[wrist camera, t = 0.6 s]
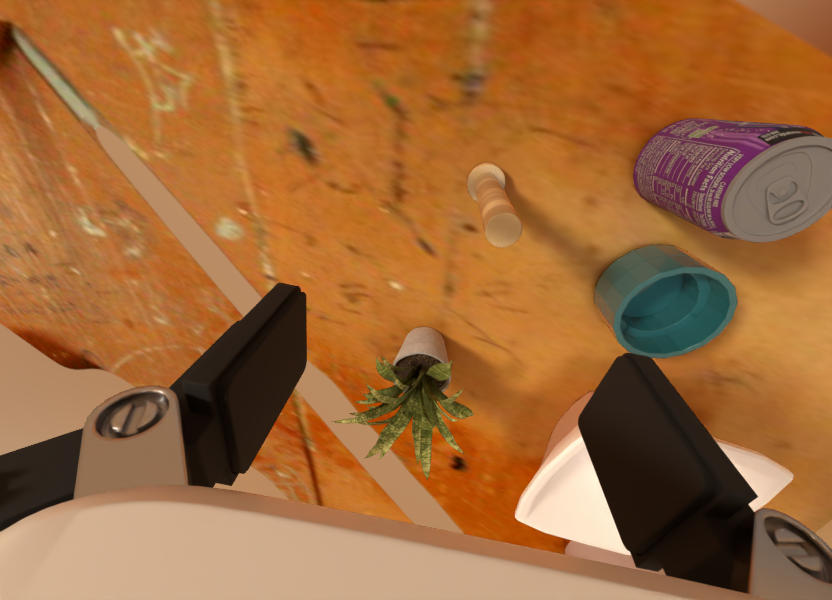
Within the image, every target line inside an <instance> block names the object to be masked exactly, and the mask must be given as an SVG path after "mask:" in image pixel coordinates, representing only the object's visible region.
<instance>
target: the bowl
mask: <svg viewBox="0 0 832 600" xmlns="http://www.w3.org/2000/svg"><path fill="white" fill-rule="evenodd" d="M594 392H595V391H590V392H588V393H587V394H586V395H584V396H583V397H582V398H580V399H579V400H578V401H576V402H575V403H574V404H573V405H572V406H571V407H570V408H569V409H568V410H567V411H566V413H565V414H564V415H563V416H562V417H561V419H560V420H559V422H558V423H557V425H556V426H555V428H554V430H553V432H552V435H551V437H550V440H549V443H548V446H547V449H546V452H545V455H544V458H543V461H542V464H541V467H540V469H539V470H538V472H537V473H536V474H535V476H534V477H533V479H532V480H531V482H530V483H529V484H528V486H527V487H526V489H525V490H524V492H523V493H522V495H521V498H520V500H519V503H518V506H517V508H516V511H515V518H516V519H517V520H518V521H520V522H522V523H524V524H527V525H529V526H531V527H533V528H535V529H538V530H540V531H542V532H544V533H548V534H551V535H555V536H558V537H562V538H565V539H569V540H572V541H576V542H579V543H583V544H587V545H590V546H594V547H598V548H602V549H606V550H610V551H613V552H617V553H621V554H625V555H631V553H630V552H629V551H628V550H627V549H626V548H625V547H624V545H623V543H622V541H621V538H620V535H619V533H618V530H617V528H616V525H615V522H614V520H613V517H612V514H611V512H610V509H609V506H608V504H607V501H606V499H605V496H604V493H603V491H602V488H601V485H600V483H599V480H598V478H597V475H596V472H595V470H594V467H593V464H592V462H591V459H590V456H589V454H588V451H587V449H586V446H585V443H584V441H583V438H582V435H581V433H580V430H579V427H578V418H579V415H580V414H581V412H582V410H583V409H584V407H585V406H586V404H587V403H588V401H589V400H590V398H591V397H592V395H593V393H594ZM713 439H714V440H715V441H716V442H717V444H718V445H719V446H720V448H721V449H722V450H723V452H724V453H725V454H726V455H727V457H728V458H729V459H730V461H731V462H732V463H733V464H734V466H735V467H736V468H737V470H738V471H739V472H740V474H741V475H742V476H743V477H744V479H745V480H746V481H747V483H748V484H749V485H750V487H751V488H752V489H753V490H754V492H755V493H756V494H757V496H758V497H757V498H756V499H755V500H753V501H752V502H751V503H749V506H750V507H751V508H752V510H753V511H754V512H755V511H756V510H758V509H759V508H760V507H762V506H763V505H765V504H766V503H768V502H769V501H770V500H771V499H772V498H773V497H774V496H775V495H777V494H778V493H779V492H780V491H781V490H782V489H783V488H784V487H785V486H786V485H787V484H789V483H790V482H791V481H792V479H793V477H794V475H793V473H791V472H790V471H789V470H788V469H787V468H785V467H783V466H782V465H780V464H778V463H777V462H775V461H773V460H772V459H770V458H768V457H767V456H765V455H764V454H762V453H760V452H757V451H754V450H751V449H748V448H745V447H742V446H739V445H736V444H733V443H730V442H727V441H724V440H721V439H718V438H715V437H713Z"/></svg>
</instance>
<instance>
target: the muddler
mask: <svg viewBox="0 0 832 600" xmlns="http://www.w3.org/2000/svg"><path fill="white" fill-rule="evenodd" d="M505 184H506V180H505V175H504V173H503V171H502V170H501V169H500V168H499V167H498V166H497V165H496V164H493V163H490V162H485V163H481V164H479V165H477V166H475V167H474V168H473V169H472V170H471V172H470V173H469V175H468V179H467V188H468V192H469V194H470V196H471V197H472V198H473V199H474V200H475V201H477V202H478V204H479V208H480V213H481V217H482V222H483V226H484V231H485V235H486V238H487V240H488V241H489V242H490V243H491V244H492V245H494V246H496V247H508V246H511V245H512V244H514V243H515V242H516V241H517V240H518V239H519V238H520V236H521V233H522V223H521V221H520V219H519V217H518V215H517V214H516V212H515V210H514V208H513V206H512V204H511V203H510V201H509V199H508V197H507V195H506V193H505V192H504V189H505Z"/></svg>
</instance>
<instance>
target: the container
mask: <svg viewBox="0 0 832 600" xmlns="http://www.w3.org/2000/svg"><path fill="white" fill-rule="evenodd" d="M565 555H569V556H574V557H579V558H584V559H588V560H593V561H598V562H603V563H608V564H613V565H617V566H622V567H627V568H632V569H637V570H642V571H646V572H651V573H656V574H661V575H666V574H665V572H664V570H663V568H662V569H661V570H660V571H658V572H656V571H651V570H646V569H641V568H636V566H635V564H634V561H633V558H632V556H631V555H625V554H621V553H617V552H613V551H610V550H606V549H602V548H598V547H594V546H590V545H587V544H583V543H579V542H576V541H572V540H571V541H570V542H569V543H568V545H567V546H566V548H565Z"/></svg>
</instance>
